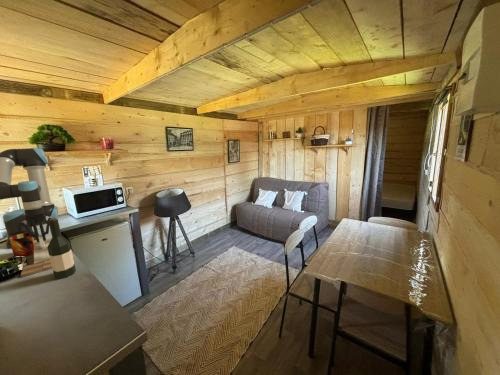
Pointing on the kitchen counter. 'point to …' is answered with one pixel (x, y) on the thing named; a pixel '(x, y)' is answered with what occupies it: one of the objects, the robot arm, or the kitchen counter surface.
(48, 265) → the floorboard
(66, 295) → the kitchen counter surface
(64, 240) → the wine bottle
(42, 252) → the plank
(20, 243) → the mug
